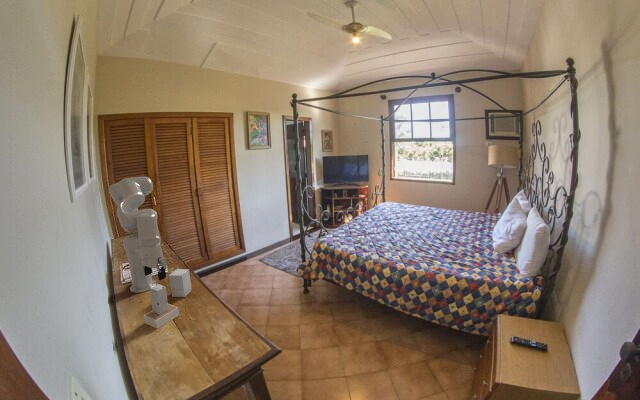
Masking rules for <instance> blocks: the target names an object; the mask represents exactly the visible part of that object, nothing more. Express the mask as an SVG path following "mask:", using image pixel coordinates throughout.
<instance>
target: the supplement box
mask: <svg viewBox="0 0 640 400" xmlns="http://www.w3.org/2000/svg"><path fill="white" fill-rule="evenodd" d="M168 279H169V285H170V290H171V297H172V298H173V297H174V298H175V297H176V298H185V297H187V296H188V294H190V293H191V292H192V291H193V290H192V289H193V288H192V283H191V276H190V269H189V268H188V269H185V268H184V269H183V268H182V269H178V268H177V269H175V270H174V271H172V272H171V273H169V275H168Z"/></svg>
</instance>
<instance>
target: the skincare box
mask: <svg viewBox="0 0 640 400" xmlns="http://www.w3.org/2000/svg"><path fill="white" fill-rule="evenodd" d="M149 293H150V294H149V296H150V300H151V301H150V302H151V309H152V310H151V311H153V312H155V313H157V314H159V315H161V314H163V313H164V312H166V311H168V304H169V303H168V294H167V287H166V286H164V285H162V284H159V283H156V285H154V286H152V287H151V288H150V290H149Z"/></svg>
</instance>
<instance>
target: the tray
mask: <svg viewBox="0 0 640 400" xmlns="http://www.w3.org/2000/svg"><path fill="white" fill-rule="evenodd" d="M179 310H180V308H179V307H178V306H176V305H173V304H170V303H168V311H166V312H164V313H163V314H161V315H159V314H157V313H155V312H153V311H152V310H151V311H149V312H147V313H145V314H143V319H144V324H146V325H149V326H151V327H153V328H155V329H160V328H161V327H162V326H165V325H166V324H168V323H169V322H171V321H172V320H174V319H176V318H177V317H178V316H180V311H179Z"/></svg>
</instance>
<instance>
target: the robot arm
mask: <svg viewBox="0 0 640 400" xmlns="http://www.w3.org/2000/svg"><path fill="white" fill-rule="evenodd" d="M108 190H109V191H108V192H109V195H110V196H111V198H112V200H113V202H114V203H115V205H116V206H117V208H116V215H117V219H118V221H119V222H118V223H119V224H120V227H121V228H122V229H123V230H124V231H125V232H127V233H131V232H136V233H132V234H129V235H126V236H125V237H124V238H123V239H122V245H123V247H124V251H125V253H126V257H127V261H128V265H129V266H128V267H129V271H130V278H131V279H130V282H131V283H132V285H131V286H130V287H129V291H130V292H131V293H135V294H136V293H137V294H138V293H144V292H147V291H150V288H151V287H152V286H154V285H156V284H157V282H156V280H155V279H153V276H152V274H153V269H156V270H157V277H158V281H160V282H161V281H162V280H165V279H166V278H167V274H166V269H167V268H168V267H167V266H168V263H167V262H166V260H164V259H165V257H164V254H163V248H162V246H161V240H162V239H161V235H160V234H161V233H160V230H159V227H158V226H159V225H158V213H157V211H156V210H155V209H152V208H145V209H139V207H141V206H142V205H143V204H144V202H145V199H146V196H148V195H150V194H151V193H152V192H153V190H154V184H153V181H152V180H151V179H150V177H148V176H145V175H143V176H136V177H135V176H134V177H126V178H123V179H121V180H120V181H119V182H117V183H113V184H111V185H110V186H109V187H108Z"/></svg>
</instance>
